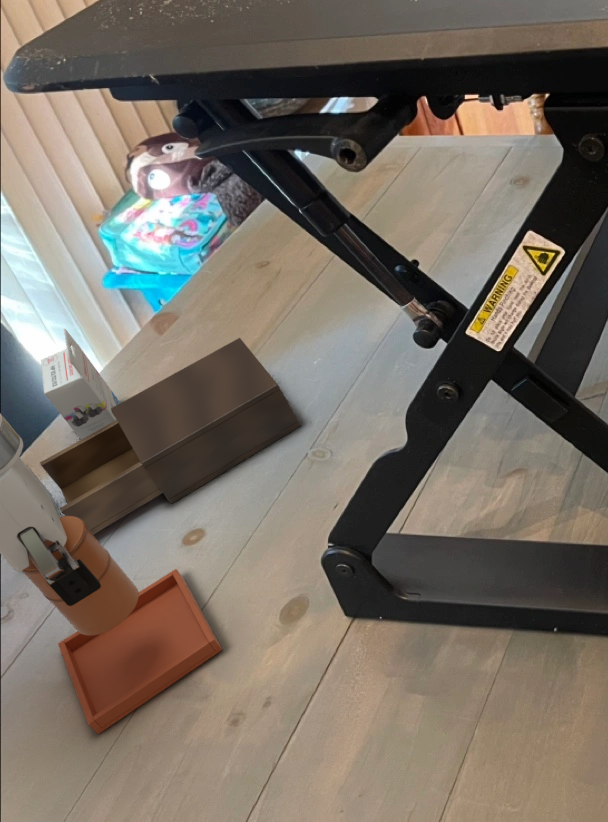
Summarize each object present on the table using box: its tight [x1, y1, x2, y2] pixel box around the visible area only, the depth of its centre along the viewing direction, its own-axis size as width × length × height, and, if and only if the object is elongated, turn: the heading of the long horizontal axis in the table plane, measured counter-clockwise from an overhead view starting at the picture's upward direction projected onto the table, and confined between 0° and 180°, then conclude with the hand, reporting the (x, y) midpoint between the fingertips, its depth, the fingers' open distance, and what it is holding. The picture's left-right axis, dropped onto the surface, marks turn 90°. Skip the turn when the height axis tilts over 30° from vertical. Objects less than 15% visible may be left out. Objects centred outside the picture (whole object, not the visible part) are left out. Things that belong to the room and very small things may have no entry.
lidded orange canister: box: [20, 515, 140, 636], centre depth 106 cm, size 7×7×11 cm
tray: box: [57, 568, 223, 735], centre depth 114 cm, size 13×13×2 cm
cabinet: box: [111, 337, 302, 504], centre depth 138 cm, size 18×14×8 cm
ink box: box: [40, 328, 121, 440], centre depth 141 cm, size 8×5×15 cm, turn 31°
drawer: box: [26, 420, 163, 535], centre depth 131 cm, size 21×13×6 cm, turn 130°
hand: (75, 573), depth 106 cm, fingers closed on lidded orange canister, 6 cm apart
